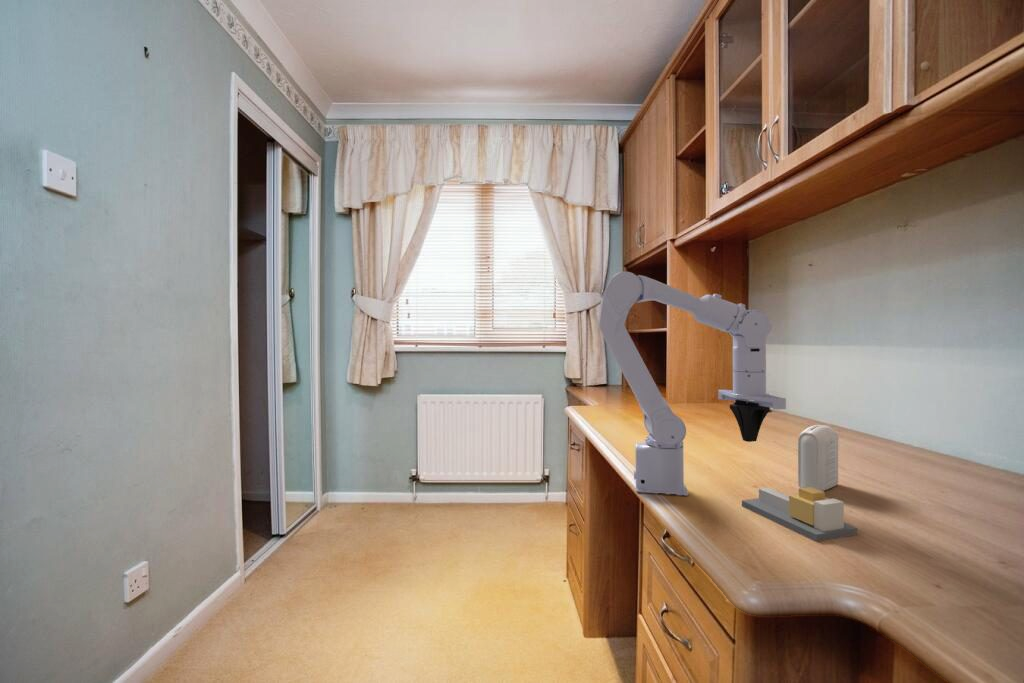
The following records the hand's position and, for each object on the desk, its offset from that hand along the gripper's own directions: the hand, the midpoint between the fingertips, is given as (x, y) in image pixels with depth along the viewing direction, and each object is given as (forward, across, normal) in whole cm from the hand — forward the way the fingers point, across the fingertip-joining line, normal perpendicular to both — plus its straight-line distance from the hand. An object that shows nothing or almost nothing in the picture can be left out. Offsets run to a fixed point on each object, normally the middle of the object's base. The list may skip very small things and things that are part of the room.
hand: (749, 440), depth 84 cm
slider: (+9, -16, +3) cm, 18 cm away
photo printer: (+10, -2, -15) cm, 18 cm away
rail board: (+10, -13, +3) cm, 16 cm away
